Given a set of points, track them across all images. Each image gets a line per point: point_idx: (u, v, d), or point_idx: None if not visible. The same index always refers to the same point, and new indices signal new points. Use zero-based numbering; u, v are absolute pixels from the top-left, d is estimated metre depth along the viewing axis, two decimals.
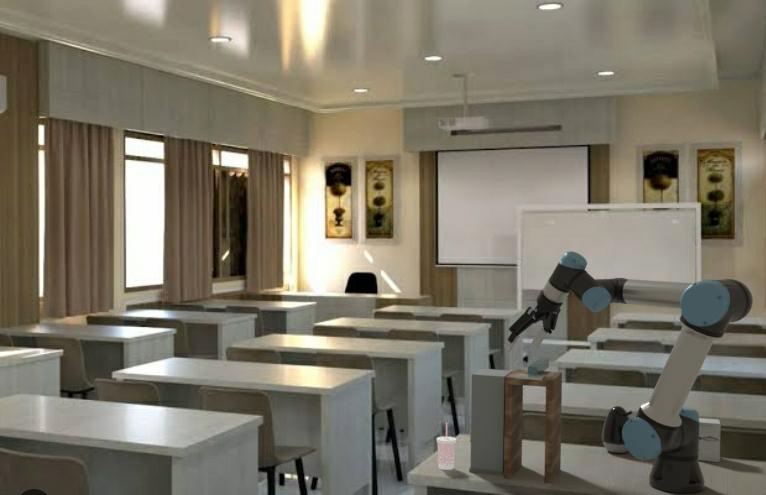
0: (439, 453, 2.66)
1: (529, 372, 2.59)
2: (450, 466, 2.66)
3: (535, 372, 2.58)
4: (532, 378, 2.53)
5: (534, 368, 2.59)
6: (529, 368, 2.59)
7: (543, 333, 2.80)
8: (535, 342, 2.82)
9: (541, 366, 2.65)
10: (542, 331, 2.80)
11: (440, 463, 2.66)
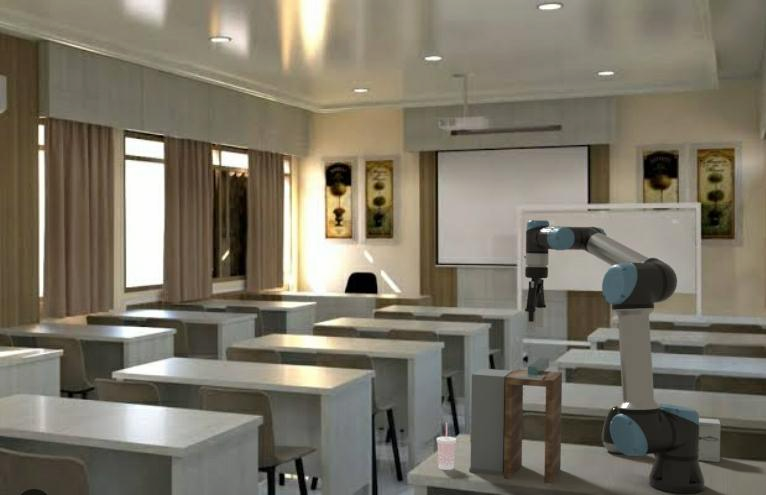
0: (439, 453, 2.66)
1: (529, 372, 2.59)
2: (450, 466, 2.66)
3: (535, 372, 2.58)
4: (532, 378, 2.53)
5: (534, 368, 2.59)
6: (529, 368, 2.59)
7: (540, 310, 2.98)
8: (537, 323, 2.99)
9: (541, 366, 2.65)
10: (538, 309, 2.98)
11: (440, 463, 2.66)
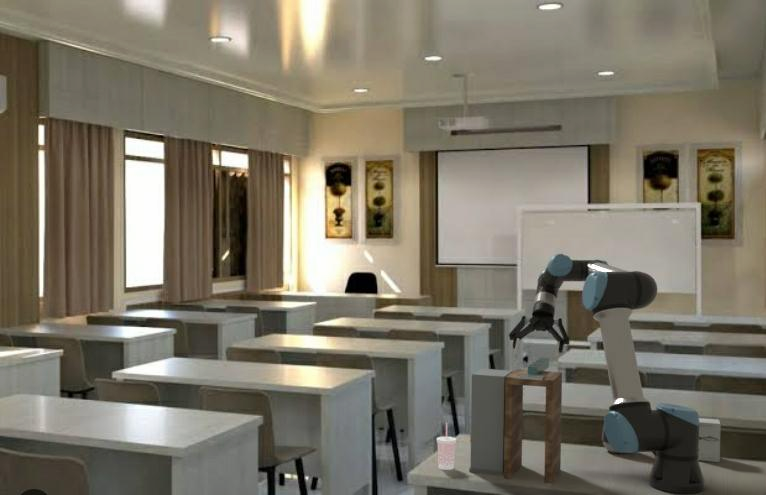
0: (439, 453, 2.66)
1: (529, 372, 2.59)
2: (450, 466, 2.66)
3: (535, 372, 2.58)
4: (532, 378, 2.53)
5: (534, 368, 2.59)
6: (529, 368, 2.59)
7: (557, 344, 2.91)
8: None
9: (541, 366, 2.65)
10: None
11: (440, 463, 2.66)
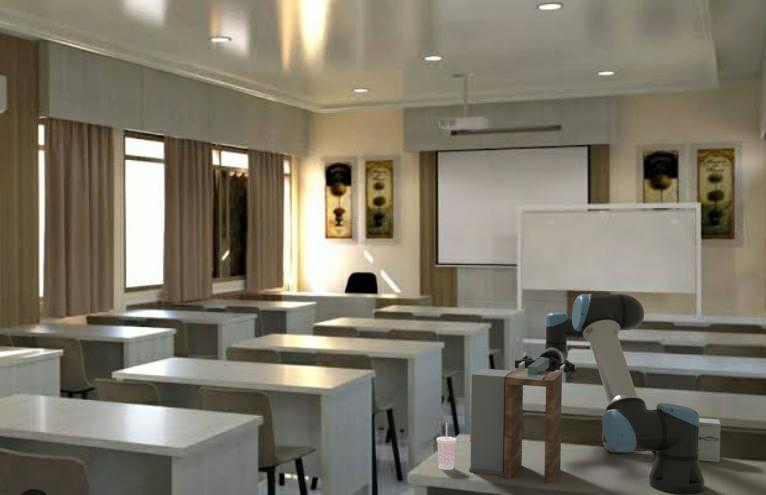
0: (439, 453, 2.66)
1: (529, 372, 2.59)
2: (450, 466, 2.66)
3: (535, 372, 2.58)
4: (532, 378, 2.53)
5: (534, 368, 2.59)
6: (529, 368, 2.59)
7: None
8: None
9: (541, 366, 2.65)
10: None
11: (440, 463, 2.66)
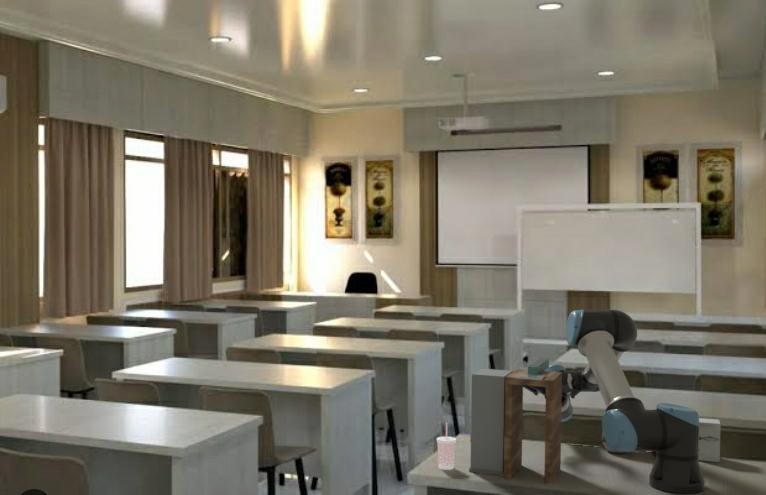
0: (439, 453, 2.66)
1: (529, 372, 2.59)
2: (450, 466, 2.66)
3: (535, 372, 2.58)
4: (532, 378, 2.53)
5: (534, 368, 2.59)
6: (529, 368, 2.59)
7: None
8: None
9: (541, 366, 2.65)
10: None
11: (440, 463, 2.66)
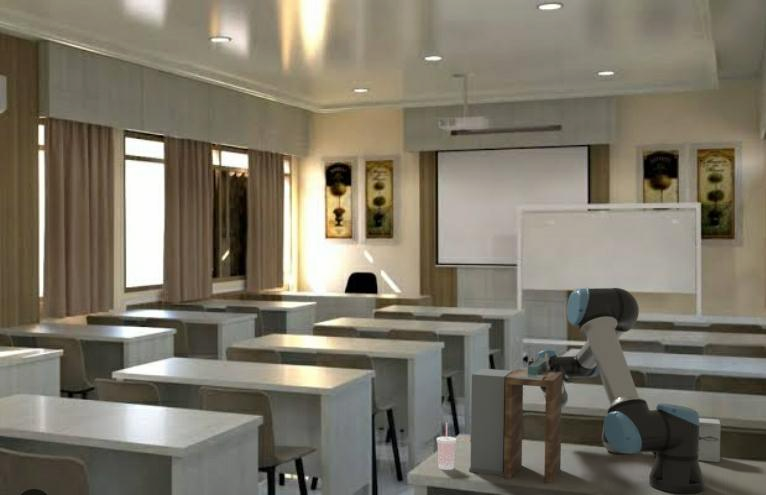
0: (439, 453, 2.66)
1: (529, 372, 2.59)
2: (450, 466, 2.66)
3: (535, 372, 2.58)
4: (532, 378, 2.53)
5: (534, 368, 2.59)
6: (529, 368, 2.59)
7: None
8: None
9: (541, 366, 2.65)
10: None
11: (440, 463, 2.66)
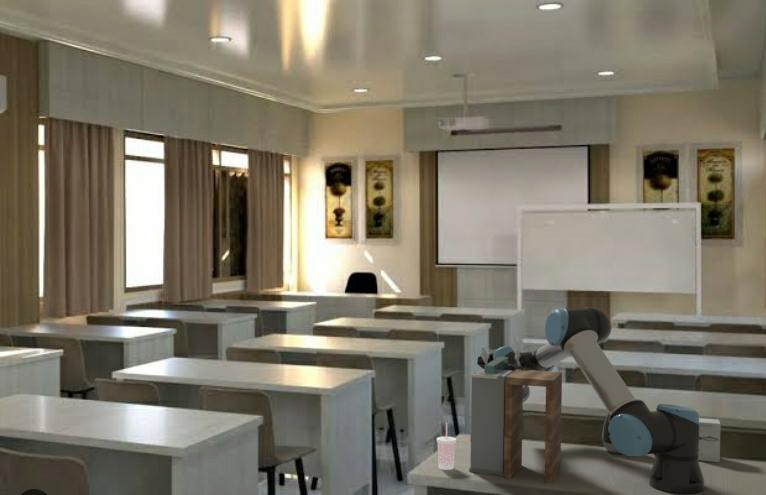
0: (439, 453, 2.66)
1: (486, 371, 2.63)
2: (450, 466, 2.66)
3: (491, 371, 2.62)
4: (488, 377, 2.57)
5: (491, 367, 2.62)
6: (486, 367, 2.63)
7: None
8: None
9: (498, 365, 2.69)
10: None
11: (440, 463, 2.66)
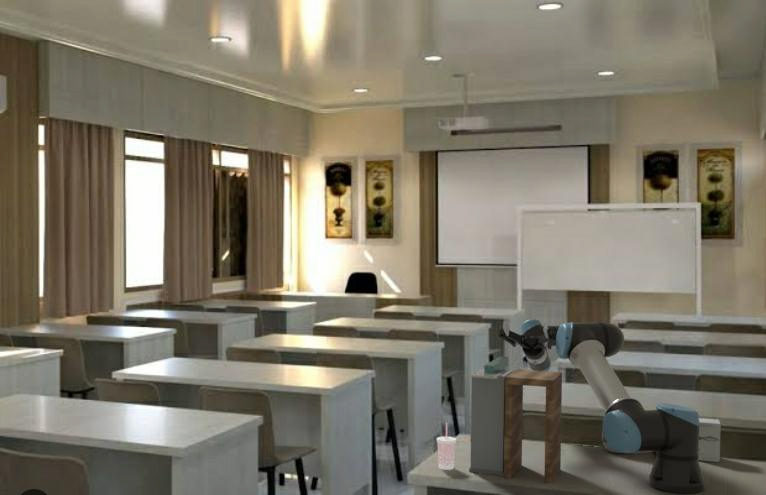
0: (439, 453, 2.66)
1: (486, 371, 2.63)
2: (450, 466, 2.66)
3: (491, 371, 2.62)
4: (488, 377, 2.57)
5: (491, 367, 2.62)
6: (486, 367, 2.63)
7: None
8: None
9: (498, 365, 2.69)
10: None
11: (440, 463, 2.66)
